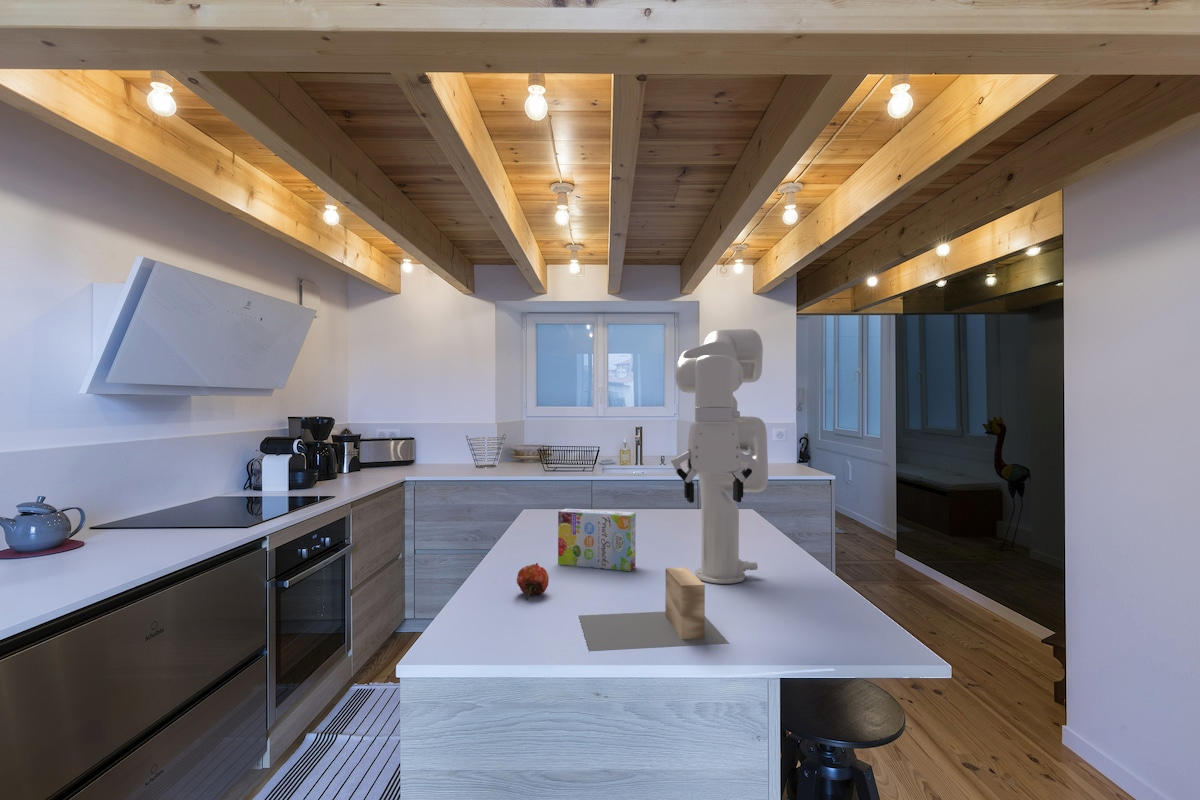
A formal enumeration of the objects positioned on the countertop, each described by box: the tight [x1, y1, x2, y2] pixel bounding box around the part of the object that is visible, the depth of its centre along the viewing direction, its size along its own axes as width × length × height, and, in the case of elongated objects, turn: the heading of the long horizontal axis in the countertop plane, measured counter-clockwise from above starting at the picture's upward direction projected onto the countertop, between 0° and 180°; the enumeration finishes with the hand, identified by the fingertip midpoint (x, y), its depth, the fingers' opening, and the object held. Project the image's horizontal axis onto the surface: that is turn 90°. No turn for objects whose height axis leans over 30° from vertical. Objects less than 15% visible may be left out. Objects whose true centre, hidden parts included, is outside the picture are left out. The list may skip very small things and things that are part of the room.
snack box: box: [557, 508, 637, 572], centre depth 164 cm, size 21×6×15 cm, turn 71°
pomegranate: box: [516, 562, 549, 601], centre depth 138 cm, size 7×7×10 cm
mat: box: [578, 611, 730, 652], centre depth 117 cm, size 26×18×1 cm
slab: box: [664, 566, 706, 639], centre depth 118 cm, size 4×12×10 cm, turn 8°
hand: (713, 501), depth 120 cm, fingers open, 9 cm apart
